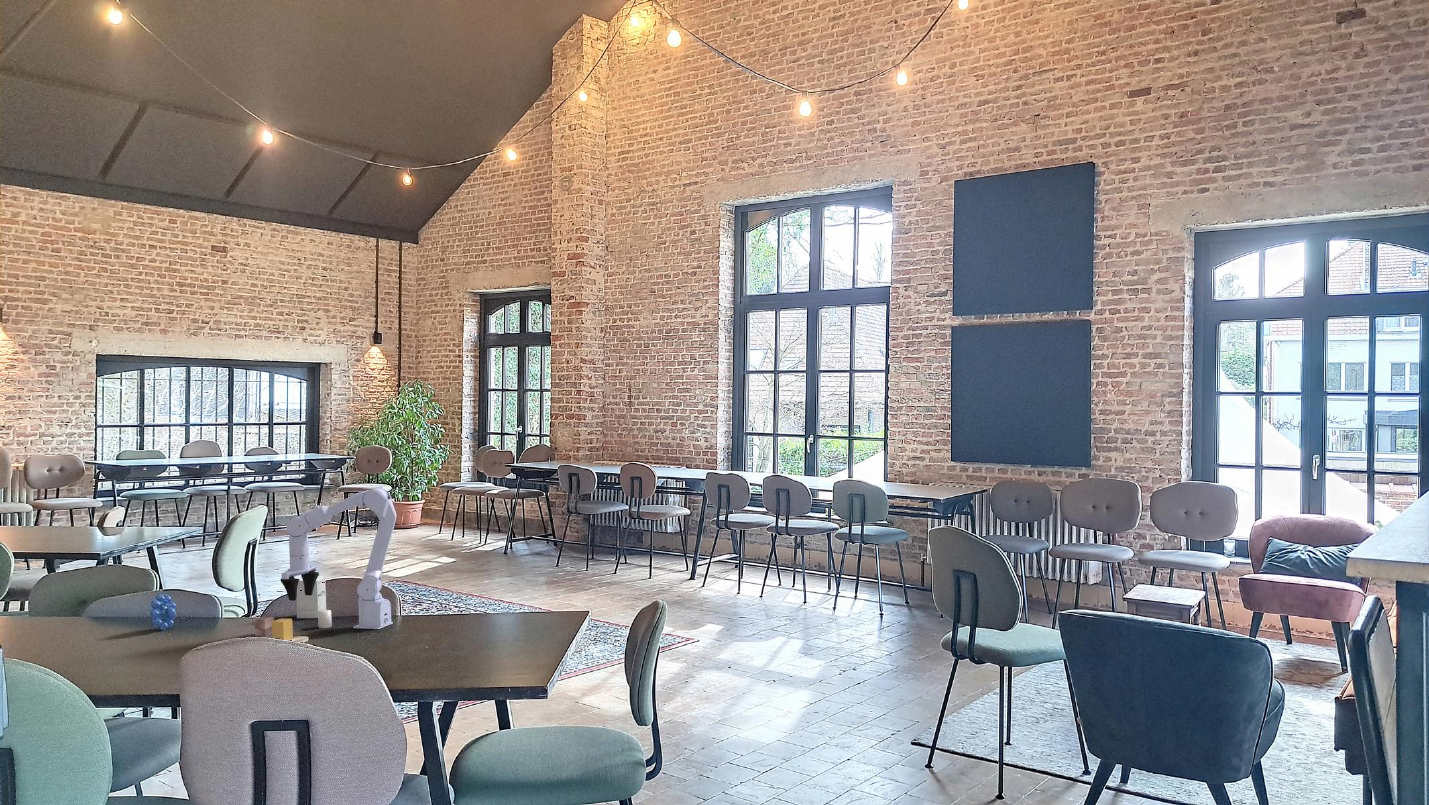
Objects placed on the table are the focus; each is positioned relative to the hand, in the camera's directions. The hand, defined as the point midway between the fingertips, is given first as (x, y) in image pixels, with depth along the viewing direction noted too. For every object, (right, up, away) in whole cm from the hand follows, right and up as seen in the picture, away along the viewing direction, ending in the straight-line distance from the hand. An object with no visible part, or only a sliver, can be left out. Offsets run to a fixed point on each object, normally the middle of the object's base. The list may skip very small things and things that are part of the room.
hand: (300, 597), depth 321 cm
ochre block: (+1, -9, -17) cm, 19 cm away
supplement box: (-5, -11, +21) cm, 24 cm away
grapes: (-46, -12, +6) cm, 48 cm away
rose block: (-10, -11, -3) cm, 15 cm away
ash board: (+2, -11, -17) cm, 20 cm away
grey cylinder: (+6, -10, +5) cm, 13 cm away
